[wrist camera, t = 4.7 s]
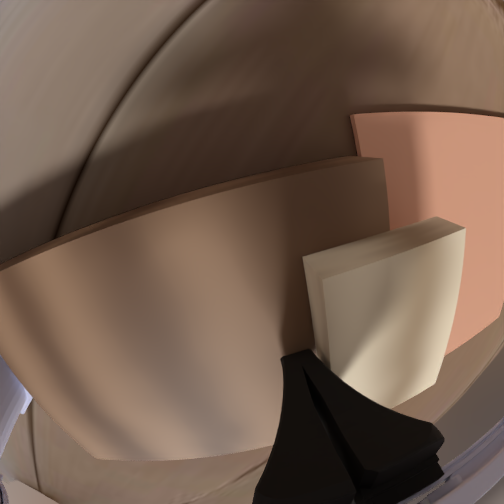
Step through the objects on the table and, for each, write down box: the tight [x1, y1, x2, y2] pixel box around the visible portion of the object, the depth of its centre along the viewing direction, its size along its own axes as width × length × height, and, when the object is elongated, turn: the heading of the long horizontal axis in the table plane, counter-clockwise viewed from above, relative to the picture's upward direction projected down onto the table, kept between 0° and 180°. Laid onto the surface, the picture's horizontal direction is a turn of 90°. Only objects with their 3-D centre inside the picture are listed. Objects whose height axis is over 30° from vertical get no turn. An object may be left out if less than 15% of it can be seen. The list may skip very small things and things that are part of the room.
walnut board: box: [0, 156, 390, 461], centre depth 13 cm, size 22×16×3 cm
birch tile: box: [302, 216, 466, 409], centre depth 11 cm, size 7×10×2 cm
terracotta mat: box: [350, 112, 504, 356], centre depth 15 cm, size 18×20×1 cm
